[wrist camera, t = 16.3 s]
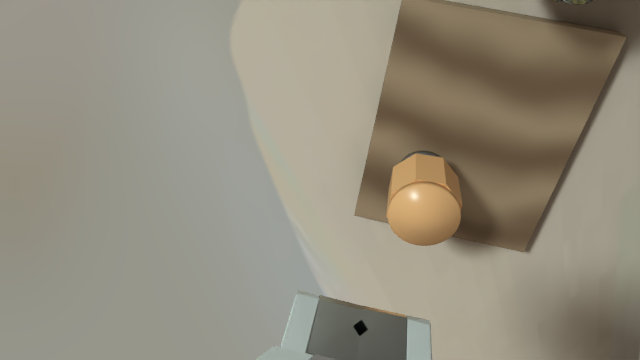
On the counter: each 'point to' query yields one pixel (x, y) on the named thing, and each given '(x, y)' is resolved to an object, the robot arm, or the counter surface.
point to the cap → (424, 200)
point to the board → (486, 109)
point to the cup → (575, 1)
